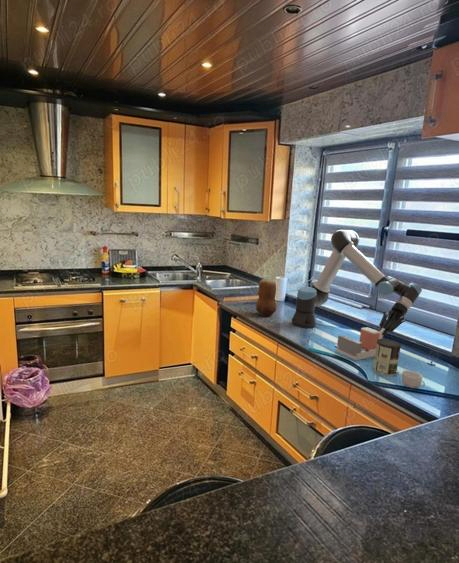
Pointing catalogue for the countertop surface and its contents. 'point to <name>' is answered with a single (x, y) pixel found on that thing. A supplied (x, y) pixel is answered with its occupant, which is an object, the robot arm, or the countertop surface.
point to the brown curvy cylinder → (266, 297)
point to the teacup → (412, 379)
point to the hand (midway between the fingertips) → (377, 338)
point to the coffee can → (386, 357)
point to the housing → (353, 348)
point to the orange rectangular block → (369, 338)
